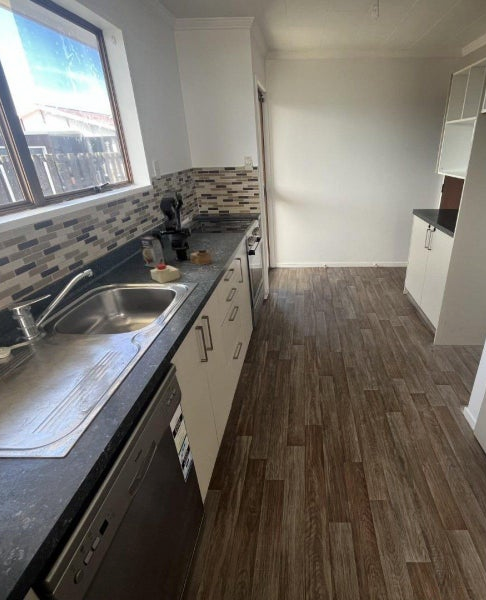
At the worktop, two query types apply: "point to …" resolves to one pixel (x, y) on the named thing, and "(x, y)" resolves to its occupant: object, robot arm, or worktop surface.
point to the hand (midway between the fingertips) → (172, 248)
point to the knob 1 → (161, 266)
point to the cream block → (165, 274)
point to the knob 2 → (202, 250)
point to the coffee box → (151, 251)
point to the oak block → (200, 258)
